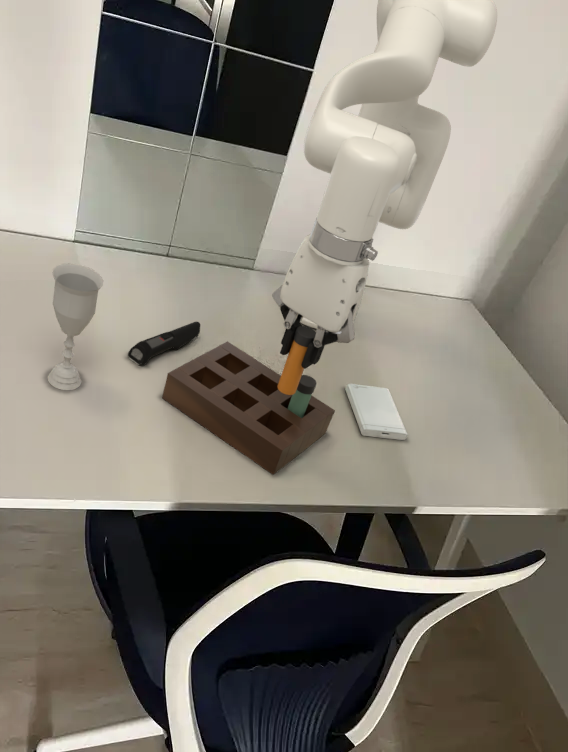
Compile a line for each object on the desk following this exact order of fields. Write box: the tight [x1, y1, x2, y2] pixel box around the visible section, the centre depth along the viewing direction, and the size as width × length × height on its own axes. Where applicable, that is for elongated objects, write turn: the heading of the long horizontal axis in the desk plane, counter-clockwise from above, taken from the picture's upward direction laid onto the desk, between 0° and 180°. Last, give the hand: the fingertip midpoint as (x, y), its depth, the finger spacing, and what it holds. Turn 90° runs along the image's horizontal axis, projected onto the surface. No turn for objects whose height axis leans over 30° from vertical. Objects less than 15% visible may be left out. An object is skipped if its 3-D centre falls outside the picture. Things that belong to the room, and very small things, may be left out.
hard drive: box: [344, 383, 409, 441], centre depth 137 cm, size 2×8×12 cm
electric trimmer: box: [127, 321, 201, 366], centre depth 134 cm, size 4×16×3 cm, turn 142°
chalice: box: [47, 262, 104, 391], centre depth 116 cm, size 7×7×18 cm
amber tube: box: [277, 325, 316, 395], centre depth 112 cm, size 3×3×10 cm
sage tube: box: [288, 374, 318, 418], centre depth 124 cm, size 3×3×10 cm
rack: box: [161, 340, 336, 475], centre depth 126 cm, size 16×22×5 cm
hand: (298, 357), depth 112 cm, fingers closed on amber tube, 3 cm apart
